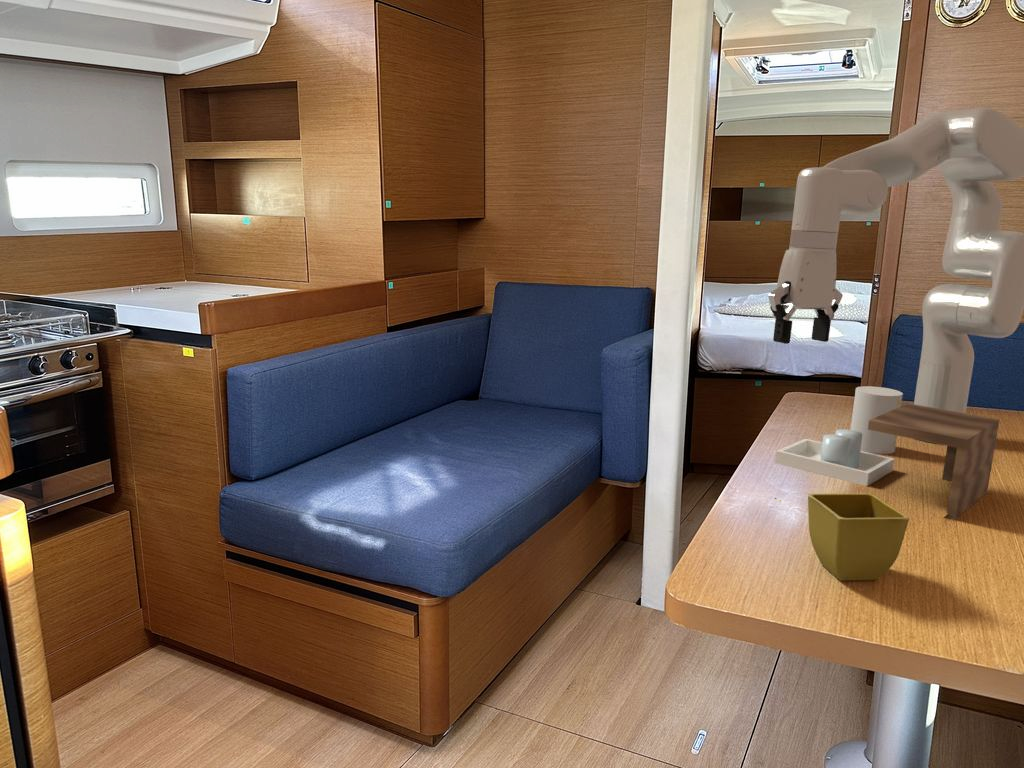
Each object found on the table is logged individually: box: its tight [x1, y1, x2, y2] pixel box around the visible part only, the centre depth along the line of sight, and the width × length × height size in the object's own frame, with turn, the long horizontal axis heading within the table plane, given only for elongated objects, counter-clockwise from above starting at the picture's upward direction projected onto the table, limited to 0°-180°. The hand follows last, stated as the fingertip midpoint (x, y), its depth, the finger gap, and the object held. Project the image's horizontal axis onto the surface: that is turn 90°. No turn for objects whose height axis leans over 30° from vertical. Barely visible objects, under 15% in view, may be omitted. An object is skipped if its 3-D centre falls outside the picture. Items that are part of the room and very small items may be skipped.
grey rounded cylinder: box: [834, 428, 863, 469], centre depth 136 cm, size 4×4×6 cm
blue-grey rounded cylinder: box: [821, 433, 851, 467], centre depth 133 cm, size 4×4×6 cm
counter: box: [868, 402, 1000, 521], centre depth 124 cm, size 18×14×12 cm
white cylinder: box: [850, 385, 904, 455], centre depth 147 cm, size 8×8×12 cm
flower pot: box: [807, 492, 910, 581], centre depth 95 cm, size 9×9×9 cm
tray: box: [774, 438, 895, 487], centre depth 136 cm, size 12×16×3 cm
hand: (800, 341), depth 135 cm, fingers open, 9 cm apart
